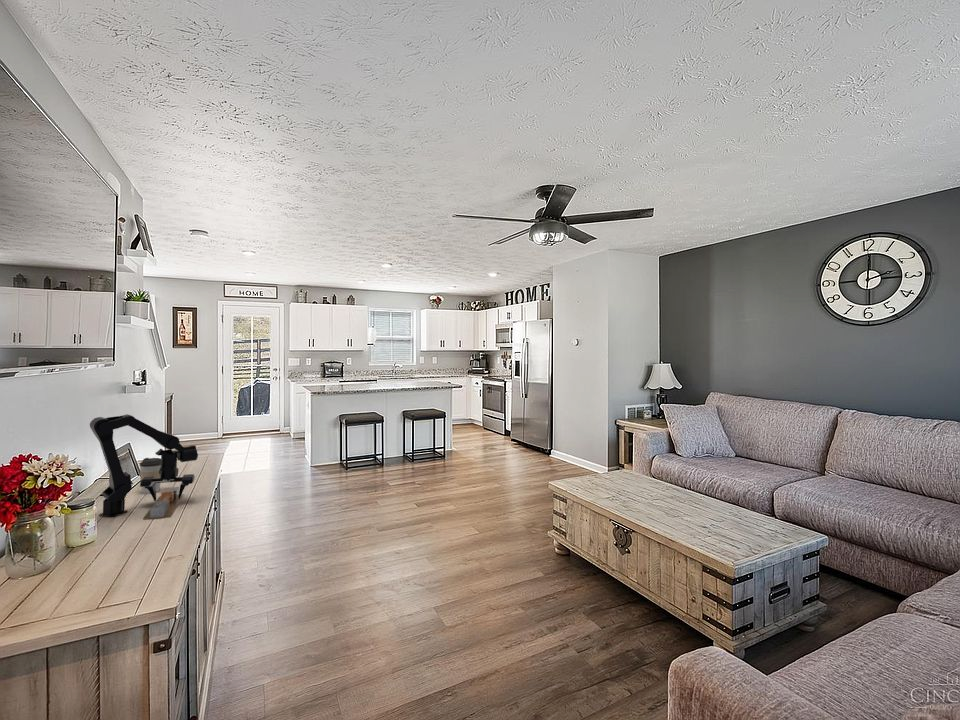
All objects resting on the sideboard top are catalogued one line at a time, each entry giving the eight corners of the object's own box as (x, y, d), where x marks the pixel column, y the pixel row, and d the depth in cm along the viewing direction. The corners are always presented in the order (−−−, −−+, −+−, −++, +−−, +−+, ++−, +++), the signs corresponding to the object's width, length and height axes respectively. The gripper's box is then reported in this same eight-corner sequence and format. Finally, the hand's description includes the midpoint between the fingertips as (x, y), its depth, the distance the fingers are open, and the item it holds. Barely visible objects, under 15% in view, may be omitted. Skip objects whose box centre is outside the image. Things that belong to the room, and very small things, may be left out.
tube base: (170, 517, 180) (171, 506, 180) (143, 519, 177) (143, 508, 177) (183, 495, 206) (184, 486, 206) (160, 496, 202) (160, 487, 202)
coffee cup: (167, 488, 213) (168, 457, 213) (151, 494, 204) (152, 461, 204) (149, 487, 214) (150, 455, 214) (133, 493, 205) (134, 460, 205)
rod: (167, 509, 187) (168, 498, 186) (155, 509, 185) (156, 499, 185) (175, 496, 201) (175, 487, 201) (164, 497, 199) (165, 487, 199)
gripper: (197, 458, 206) (195, 492, 206) (147, 460, 198) (146, 495, 199) (193, 464, 196) (191, 500, 196) (140, 467, 188) (139, 504, 188)
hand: (167, 499), depth 195 cm, fingers open, 8 cm apart
